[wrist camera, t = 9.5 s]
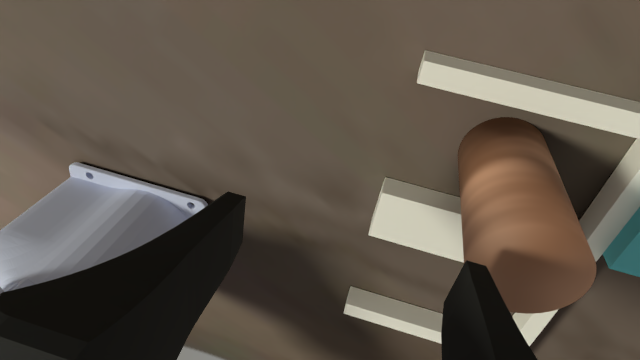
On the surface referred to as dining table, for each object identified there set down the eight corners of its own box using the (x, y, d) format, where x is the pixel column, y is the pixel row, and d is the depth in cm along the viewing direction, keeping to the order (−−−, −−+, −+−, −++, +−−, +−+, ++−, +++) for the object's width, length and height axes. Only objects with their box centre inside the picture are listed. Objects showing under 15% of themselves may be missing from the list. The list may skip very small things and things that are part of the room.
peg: (446, 177, 22) (448, 293, 16) (475, 108, 20) (491, 211, 13) (524, 197, 22) (558, 326, 15) (562, 129, 19) (623, 247, 13)
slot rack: (347, 295, 29) (340, 326, 27) (425, 49, 19) (423, 68, 17) (532, 351, 28) (539, 388, 25) (718, 121, 18) (754, 150, 16)
